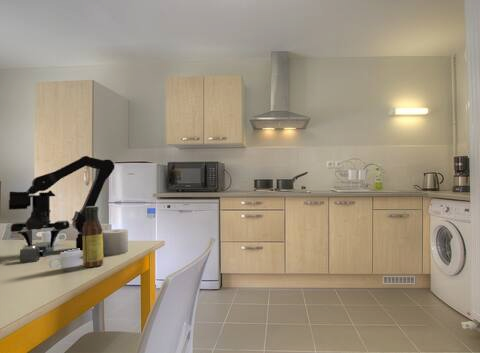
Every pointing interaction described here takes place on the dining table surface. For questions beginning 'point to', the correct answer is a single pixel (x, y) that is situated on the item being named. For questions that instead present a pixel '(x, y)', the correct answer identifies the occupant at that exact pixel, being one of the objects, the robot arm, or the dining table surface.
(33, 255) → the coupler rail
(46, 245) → the block
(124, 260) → the dining table surface
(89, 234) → the sauce bottle
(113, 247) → the toilet tissue
